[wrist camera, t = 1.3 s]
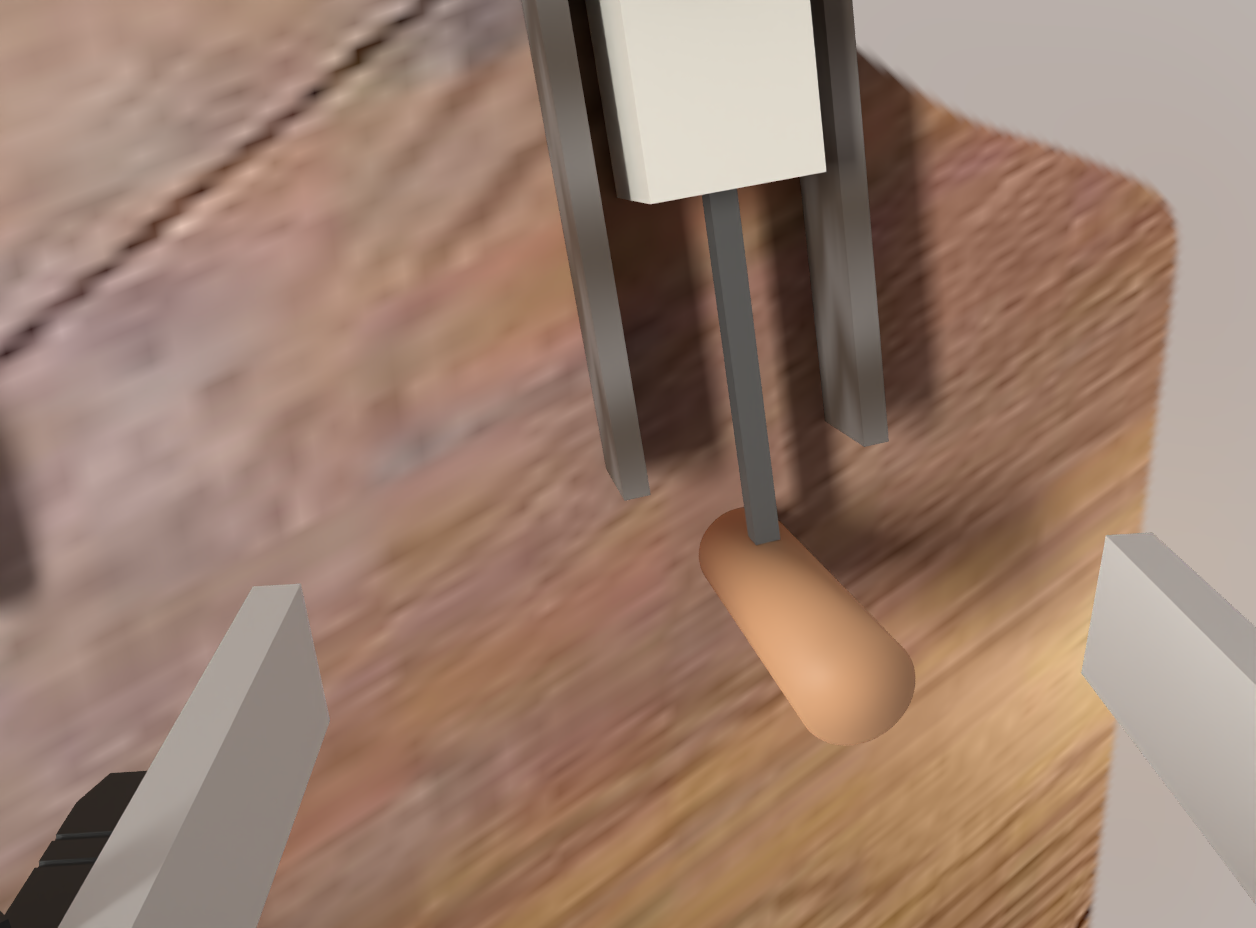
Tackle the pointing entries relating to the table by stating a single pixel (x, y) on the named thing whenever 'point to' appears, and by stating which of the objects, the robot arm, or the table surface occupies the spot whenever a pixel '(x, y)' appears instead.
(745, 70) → the push rod with block
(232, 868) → the robot arm
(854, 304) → the shelf lane
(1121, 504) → the table surface
